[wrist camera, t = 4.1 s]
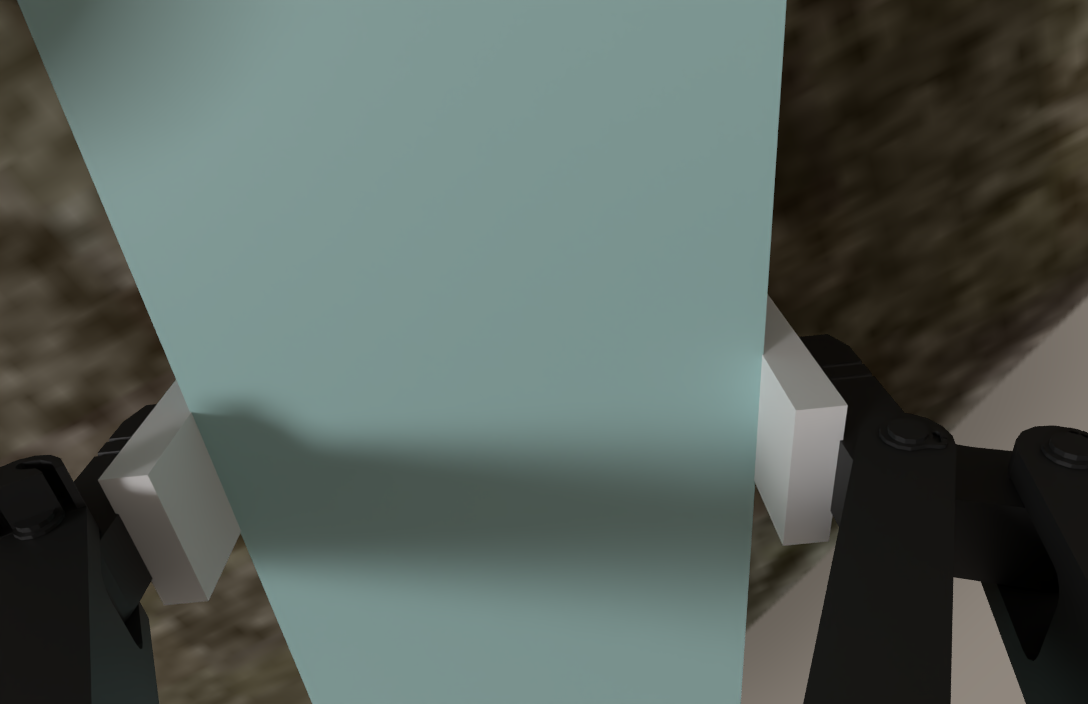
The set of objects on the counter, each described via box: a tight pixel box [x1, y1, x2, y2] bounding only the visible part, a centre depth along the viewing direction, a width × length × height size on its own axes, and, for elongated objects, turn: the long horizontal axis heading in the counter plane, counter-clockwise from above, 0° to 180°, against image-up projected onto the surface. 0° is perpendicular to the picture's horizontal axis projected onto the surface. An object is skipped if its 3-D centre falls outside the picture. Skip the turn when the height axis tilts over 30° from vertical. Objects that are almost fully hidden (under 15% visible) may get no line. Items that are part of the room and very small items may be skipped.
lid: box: [17, 0, 787, 704], centre depth 14 cm, size 10×18×3 cm, turn 6°
